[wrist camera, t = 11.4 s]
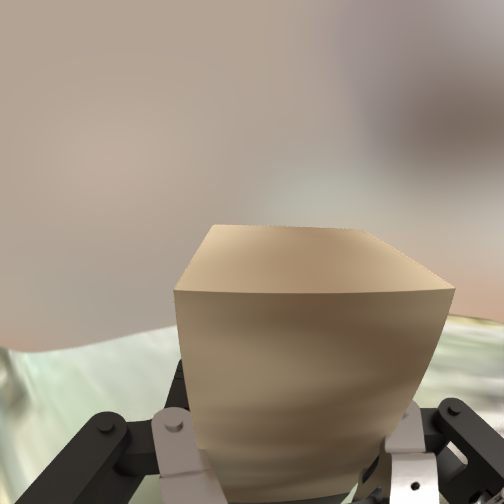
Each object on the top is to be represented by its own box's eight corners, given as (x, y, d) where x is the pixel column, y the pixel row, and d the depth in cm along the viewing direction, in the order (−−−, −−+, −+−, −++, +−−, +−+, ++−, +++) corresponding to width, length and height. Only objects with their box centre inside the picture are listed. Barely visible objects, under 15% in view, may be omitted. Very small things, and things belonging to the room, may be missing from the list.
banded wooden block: (220, 530, 8) (171, 290, 4) (224, 461, 13) (212, 224, 9) (319, 525, 8) (457, 288, 4) (307, 459, 13) (362, 229, 9)
